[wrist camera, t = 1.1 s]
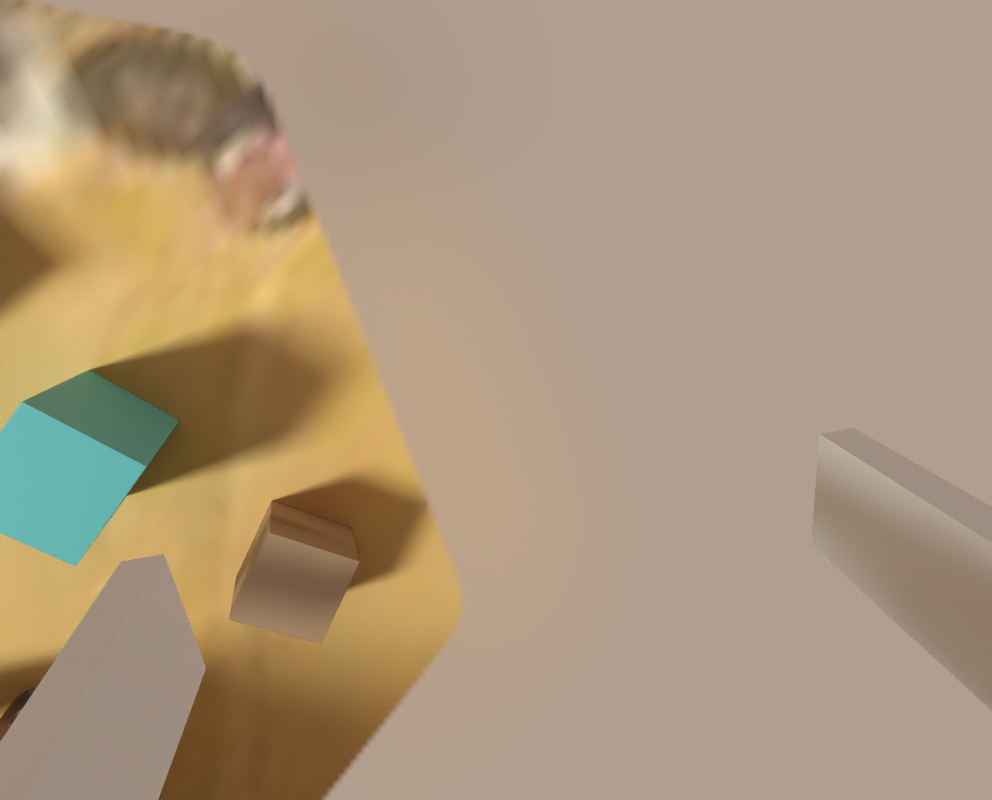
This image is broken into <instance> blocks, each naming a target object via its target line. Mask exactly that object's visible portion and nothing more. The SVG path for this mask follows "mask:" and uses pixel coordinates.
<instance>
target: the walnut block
mask: <svg viewBox="0 0 992 800" xmlns="http://www.w3.org/2000/svg"><path fill="white" fill-rule="evenodd" d="M359 562H360V560H359V556H358V552H357V549H356V545H355V541H354V537H353V533H352V529H351V528H350V527H347V526H345V525H342V524H339V523H336V522H333V521H330V520H327V519H324V518H321V517H318V516H315V515H312V514H309V513H306V512H303V511H300V510H297V509H294V508H292V507H289V506H286V505H283V504H280V503H277V502H274V501H271V503H270V505H269V507H268V510H267V512H266V514H265V516H264V518H263V520H262V523H261V525H260V527H259V529H258V531H257V533H256V536H255V538H254V540H253V542H252V544H251V546H250V549H249V551H248V553H247V555H246V557H245V559H244V561H243V564H242V566H241V568H240V570H239V572H238V574H237V577H236V582H235V588H234V594H233V599H232V605H231V611H230V617H229V620H233V621H236V622H240V623H244V624H248V625H251V626H255V627H259V628H263V629H267V630H270V631H274V632H278V633H282V634H285V635H289V636H293V637H297V638H301V639H304V640H308V641H312V642H316V643H319V644H321V643H322V641H323V639H324V637H325V635H326V633H327V630H328V628H329V626H330V624H331V622H332V620H333V618H334V616H335V613H336V611H337V609H338V607H339V605H340V603H341V601H342V599H343V596H344V594H345V592H346V590H347V588H348V586H349V584H350V582H351V579H352V577H353V575H354V573H355V571H356V569H357V567H358V565H359Z"/></svg>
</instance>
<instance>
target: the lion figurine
mask: <svg viewBox="0 0 992 800" xmlns="http://www.w3.org/2000/svg"><path fill="white" fill-rule="evenodd" d="M35 689H36V688H33V689H31V690H28V691H25V692H23V693H22V694H21V695H20V696H18V697H17V698H16V699H15V700H14V701H13V702H12V703H11V705H10V706H9V708H8V709H7V710H6V711H5V713H4V714H3V716H2V717H1V719H0V741H1V740H2V738H3V737H4V735H5V734H6V732H7V731H8V729H9V728H10V726H11V725H12V724H11V723H10V722H11V721H12V719H13V718H14V716H15V715H16V713H17V712H18V711H19V710H20V709H21V708H22V707H23V706H24V705H25V704H26V703H27V701H28V700H29V698H30V697H31V695H32V694H33V692H34V691H35Z"/></svg>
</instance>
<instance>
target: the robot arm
mask: <svg viewBox="0 0 992 800" xmlns="http://www.w3.org/2000/svg"><path fill="white" fill-rule="evenodd" d="M811 546H812V547H813V548H814V549H815V550H816V551H817V552H818V553H819V554H820V555H821V556H823V557H824V558H825V559H826V560H827V561H828V562H829V563H830V564H831V565H832V566H834V567H835V568H836V569H837V570H838V571H839V572H840V573H841V574H842V575H844V576H845V577H846V578H847V579H848V580H849V581H850V582H851V583H852V584H853V585H855V587H857V588H858V589H859V590H860V591H861V592H862V593H863V594H864V595H865V596H866V597H868V598H869V599H870V600H871V601H872V602H873V603H874V604H875V605H876V606H877V607H879V608H880V609H881V610H882V611H883V612H884V613H885V614H886V615H887V616H889V617H890V618H891V619H892V620H893V621H894V622H895V623H896V624H897V625H898V626H899V627H900V628H902V629H903V630H904V631H905V632H906V633H907V634H908V635H909V636H910V637H912V638H913V639H914V640H915V641H916V642H917V643H918V644H919V645H920V646H921V647H923V648H924V649H925V650H926V651H927V652H928V653H929V654H930V655H931V656H932V657H933V658H934V659H936V660H937V661H938V662H939V663H940V664H941V665H942V666H943V667H944V668H945V669H947V670H948V671H949V672H950V673H951V674H952V675H953V676H954V677H955V678H956V679H958V680H959V681H960V682H961V683H962V684H963V685H964V686H965V687H966V688H968V690H970V691H971V692H972V693H973V694H974V695H975V696H976V697H977V698H978V699H979V700H981V701H982V702H983V703H984V704H985V705H986V706H987V707H988V708H989V709H991V710H992V507H991V506H989V505H987V504H986V503H984V502H982V501H980V500H979V499H977V498H975V497H973V496H971V495H970V494H968V493H966V492H965V491H963V490H961V489H959V488H958V487H956V486H954V485H952V484H950V483H949V482H947V481H945V480H944V479H942V478H940V477H938V476H937V475H935V474H933V473H931V472H930V471H928V470H926V469H924V468H923V467H921V466H919V465H917V464H916V463H914V462H912V461H911V460H909V459H907V458H905V457H904V456H901V455H900V454H898V453H896V452H895V451H893V450H891V449H890V448H888V447H886V446H884V445H883V444H881V443H879V442H877V441H876V440H874V439H872V438H870V437H869V436H867V435H865V434H863V433H861V432H860V431H858V430H856V429H855V428H852V429H846V430H841V431H835V432H830V433H825V434H820V439H819V453H818V464H817V477H816V489H815V502H814V515H813V527H812V539H811ZM205 670H206V667H205V664H204V661H203V658H202V656H201V653H200V650H199V648H198V645H197V642H196V639H195V637H194V634H193V631H192V629H191V626H190V623H189V621H188V618H187V615H186V612H185V610H184V607H183V604H182V602H181V599H180V596H179V593H178V591H177V588H176V585H175V583H174V580H173V577H172V575H171V572H170V569H169V566H168V564H167V561H166V558H165V556H164V554H162V555H156V556H151V557H145V558H140V559H134V560H129V561H123V562H121V563H120V564H119V566H118V567H117V569H116V570H115V572H114V573H113V575H112V576H111V578H110V579H109V581H108V582H107V584H106V585H105V586H104V588H103V589H102V591H101V592H100V594H99V595H98V597H97V598H96V600H95V601H94V603H93V604H92V606H91V607H90V609H89V610H88V612H87V613H86V615H85V616H84V618H83V619H82V621H81V622H80V624H79V625H78V627H77V628H76V630H75V631H74V633H73V634H72V636H71V637H70V639H69V640H68V642H67V643H66V645H65V646H64V648H63V649H62V650H61V652H60V653H59V655H58V656H57V658H56V659H55V661H54V662H53V664H52V665H51V667H50V668H49V670H48V671H47V673H46V674H45V676H44V677H43V679H42V680H41V682H40V683H39V685H38V686H37V688H36V689H35V691H34V692H33V694H32V695H31V697H30V698H29V700H28V701H27V703H26V704H25V706H24V707H23V709H22V710H21V712H20V713H19V715H18V716H17V717H16V719H15V720H14V722H13V723H12V725H11V726H10V728H9V729H8V731H7V732H6V734H5V735H4V737H3V738H2V740H1V741H0V800H158V799H159V796H160V794H161V791H162V788H163V785H164V783H165V780H166V777H167V774H168V772H169V769H170V766H171V763H172V761H173V758H174V755H175V752H176V750H177V747H178V744H179V741H180V739H181V736H182V733H183V730H184V727H185V725H186V722H187V719H188V716H189V714H190V711H191V708H192V705H193V703H194V700H195V697H196V694H197V692H198V689H199V686H200V683H201V681H202V678H203V675H204V672H205Z"/></svg>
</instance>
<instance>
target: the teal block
mask: <svg viewBox="0 0 992 800" xmlns="http://www.w3.org/2000/svg"><path fill="white" fill-rule="evenodd" d="M179 421H180V420H178V419H176V418H175V417H173V416H171V415H169V414H167V413H166V412H164V411H162V410H160V409H159V408H157V407H155V406H153V405H151V404H150V403H148V402H146V401H144V400H142V399H141V398H139V397H137V396H135V395H134V394H132V393H130V392H128V391H126V390H125V389H123V388H121V387H119V386H117V385H116V384H114V383H112V382H110V381H109V380H107V379H105V378H103V377H101V376H100V375H98V374H96V373H94V372H92V371H91V370H88V371H86V372H84V373H81V374H79V375H77V376H75V377H73V378H71V379H69V380H67V381H65V382H63V383H60V384H58V385H56V386H54V387H52V388H50V389H48V390H46V391H44V392H42V393H39V394H37V395H35V396H33V397H31V398H29V399H27V400H25V401H23V402H22V403H21V404H20V405H19V407H18V408H17V410H16V411H15V412H14V414H13V415H12V417H11V418H10V419H9V421H8V422H7V424H6V425H5V426H4V428H3V429H2V431H1V432H0V533H1V534H4V535H6V536H8V537H10V538H13V539H15V540H17V541H19V542H22V543H24V544H26V545H28V546H31V547H33V548H35V549H37V550H40V551H42V552H44V553H46V554H49V555H51V556H53V557H55V558H58V559H60V560H62V561H64V562H67V563H69V564H71V565H73V566H76V565H77V564H78V562H79V561H80V560H81V558H82V557H83V555H84V554H85V553H86V551H87V550H88V549H89V547H90V546H91V544H92V543H93V542H94V540H95V539H96V537H97V536H98V535H99V533H100V532H101V531H102V529H103V528H104V526H105V525H106V524H107V522H108V521H109V520H110V518H111V517H112V515H113V514H114V513H115V511H116V510H117V508H118V507H119V506H120V504H121V503H122V502H123V500H124V499H125V497H126V496H127V495H128V493H129V492H130V490H131V489H132V488H133V486H134V485H135V483H136V482H137V480H138V479H139V478H140V476H141V475H142V473H143V472H144V471H145V469H146V468H147V466H148V465H149V464H150V462H151V461H152V459H153V458H154V456H155V455H156V454H157V452H158V451H159V449H160V448H161V447H162V445H163V444H164V442H165V441H166V439H167V438H168V437H169V435H170V434H171V432H172V431H173V430H174V428H175V427H176V425H177V424H178V422H179Z"/></svg>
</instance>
